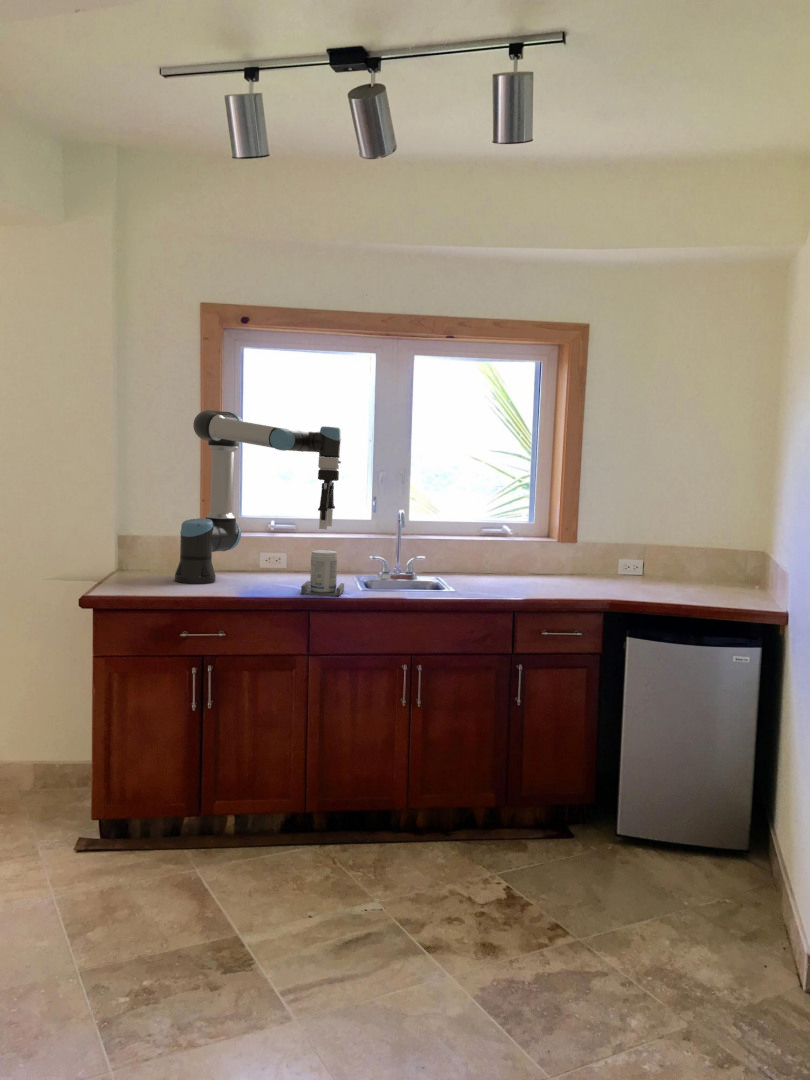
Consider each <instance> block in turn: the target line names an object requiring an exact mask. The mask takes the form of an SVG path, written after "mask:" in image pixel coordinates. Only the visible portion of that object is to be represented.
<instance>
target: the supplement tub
mask: <svg viewBox="0 0 810 1080" xmlns="http://www.w3.org/2000/svg"><path fill="white" fill-rule="evenodd" d="M310 556H311V557H310V579H309V581H310V589H311V591H313V592H319V593H330V592H334V591H336V589H337V577H338V576H337V575H338V573H337V572H338V552H337V551H335V550H328V549H327V550H326V549H318V550H312V551H311V554H310Z"/></svg>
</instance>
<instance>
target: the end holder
mask: <svg viewBox="0 0 810 1080" xmlns="http://www.w3.org/2000/svg"><path fill="white" fill-rule="evenodd" d="M300 588H301V590H300V595H306V596H307V595H308V596H324V597H325V596H326V597H339V596H340V595H342V594H343V593H344V592H345V583H340V584H339V585H338V586H336V591H334V592H330V593H319V592H313V591H311V589H310V580H306V581H305V583H303V584H302V585H301V587H300ZM340 597H341V596H340ZM340 597H339V598H340Z"/></svg>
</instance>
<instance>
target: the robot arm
mask: <svg viewBox="0 0 810 1080" xmlns="http://www.w3.org/2000/svg"><path fill="white" fill-rule="evenodd" d="M192 423H193V430H194V432H195V435H197V437H198V439H199V438H200V439H202V440H203V441H207V442H208V444H207V445H208V448H210V450H211V469H210V470H211V472H210V473H211V474H210V495H209V496H210V497H209V498H210V499H209V503H210V504H209V512H208V513H207V515H205V518H204V517H203V518H202V517H201V518H200V517H199V518H191V519H186V520H184V521H182V523H181V527H180V534H179V535H180V543H179V545H180V549H179V550H180V551H179V553H180V555H179V556H180V557H179V559H180V560H179V562H178V565H177V567H176V570H175V574H174V582H176V583H183V584H191V585H192V584H194V585H195V584H196V585H197V584H200V585H201V584H213V583H215V582H216V579H217V577H216V572H215V568H214V566H213V563H212V555H213V554H212V553H216V552H227V551H230V550H233V549H235V547H237V546H238V545H239V543H240V541H241V540H242V539H241V538H242V530H241V527H240V525H239V523H237V517H236V515H234V513H233V503H234V502H233V500H234V499H233V498H234V475H235V474H234V473H235V471H234V470H235V452H236V451H237V450H238V449H239V448H240V443H243V444H249V445H255V446H259V447H266V448H272V449H275V450H277V451H281V452H283V451H290V452H291V451H293V452H302V453H303V452H308V453H311V452H312V453H318V465H317V466H318V468H319V469H318V470H317V471H318V473H317V479H318V481H323V482H322V484H321V493H320V500H319V507H317V511H319V526H318V529H319V530H328V527H333V515H334V513H333V512H334V509H335V508H336V506H335V504H334V501H335V499H334V489H335V488H334V487H335V486H334V485H335V483H334V482H337V481H339V478H340V471H339V469H340V464H341V463H342V460H340V457H341V455H340V454H341V442H342V437H341V436H342V435H341V434H342V430H341V428H340V427H337V426H327V425H326V426H325V425H324V426H321V427H320V430H319V431H312V430H301V429H300V430H299V429H290V428H283V427H276V426H271V425H264V424H261V423H260V424H259V423H253V422H247V421H244V420H243V419H242V417H240V416H239V415H238V414H237V413H234V412H231V411H220V410H214V409H213V410H212V409H210V410H209V409H206V410H203V411H200V412H199V413H198V414H196V416H195V417H194V420H193V422H192Z"/></svg>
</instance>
